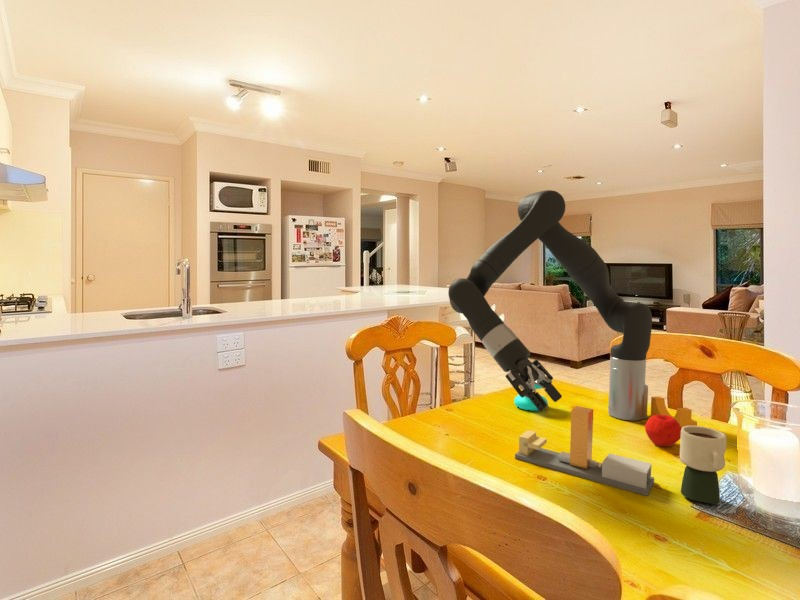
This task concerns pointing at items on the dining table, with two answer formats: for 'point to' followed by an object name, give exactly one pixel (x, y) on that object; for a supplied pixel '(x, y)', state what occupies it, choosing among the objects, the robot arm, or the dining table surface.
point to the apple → (663, 430)
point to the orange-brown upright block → (580, 439)
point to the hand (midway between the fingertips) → (551, 404)
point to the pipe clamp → (660, 409)
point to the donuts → (527, 402)
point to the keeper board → (613, 470)
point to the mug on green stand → (702, 462)
